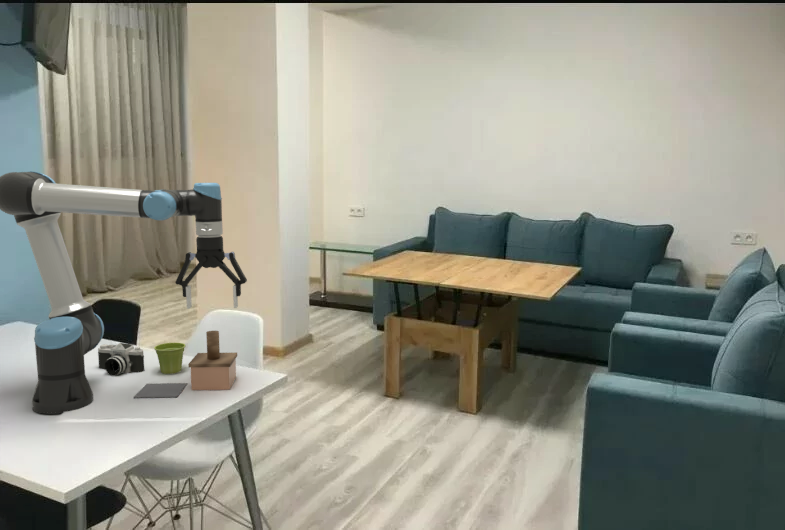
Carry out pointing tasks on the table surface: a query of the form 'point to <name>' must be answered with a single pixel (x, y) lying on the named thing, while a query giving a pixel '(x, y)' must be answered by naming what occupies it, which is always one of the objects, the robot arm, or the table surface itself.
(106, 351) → the camera
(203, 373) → the pink open box
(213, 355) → the lid
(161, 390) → the mat
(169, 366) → the plant pot
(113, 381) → the table surface
